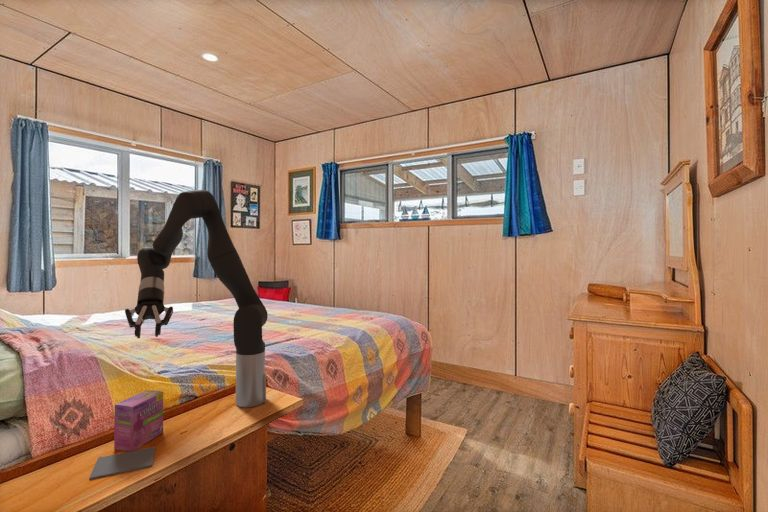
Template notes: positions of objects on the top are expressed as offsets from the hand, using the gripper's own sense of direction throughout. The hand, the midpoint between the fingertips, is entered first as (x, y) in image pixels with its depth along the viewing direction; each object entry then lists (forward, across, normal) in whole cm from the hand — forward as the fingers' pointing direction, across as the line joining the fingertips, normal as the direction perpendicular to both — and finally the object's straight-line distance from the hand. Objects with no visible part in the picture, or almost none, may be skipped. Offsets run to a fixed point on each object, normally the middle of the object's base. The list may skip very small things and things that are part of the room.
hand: (147, 335), depth 117 cm
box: (+31, 0, +3) cm, 31 cm away
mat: (+38, -2, -4) cm, 39 cm away
